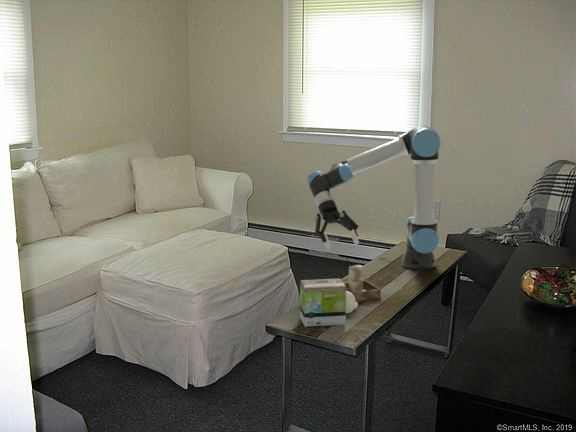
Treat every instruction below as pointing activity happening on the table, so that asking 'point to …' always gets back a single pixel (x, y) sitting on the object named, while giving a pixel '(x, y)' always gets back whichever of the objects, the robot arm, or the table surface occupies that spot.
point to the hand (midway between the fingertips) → (343, 246)
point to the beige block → (356, 278)
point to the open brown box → (365, 292)
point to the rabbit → (350, 302)
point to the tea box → (322, 302)
